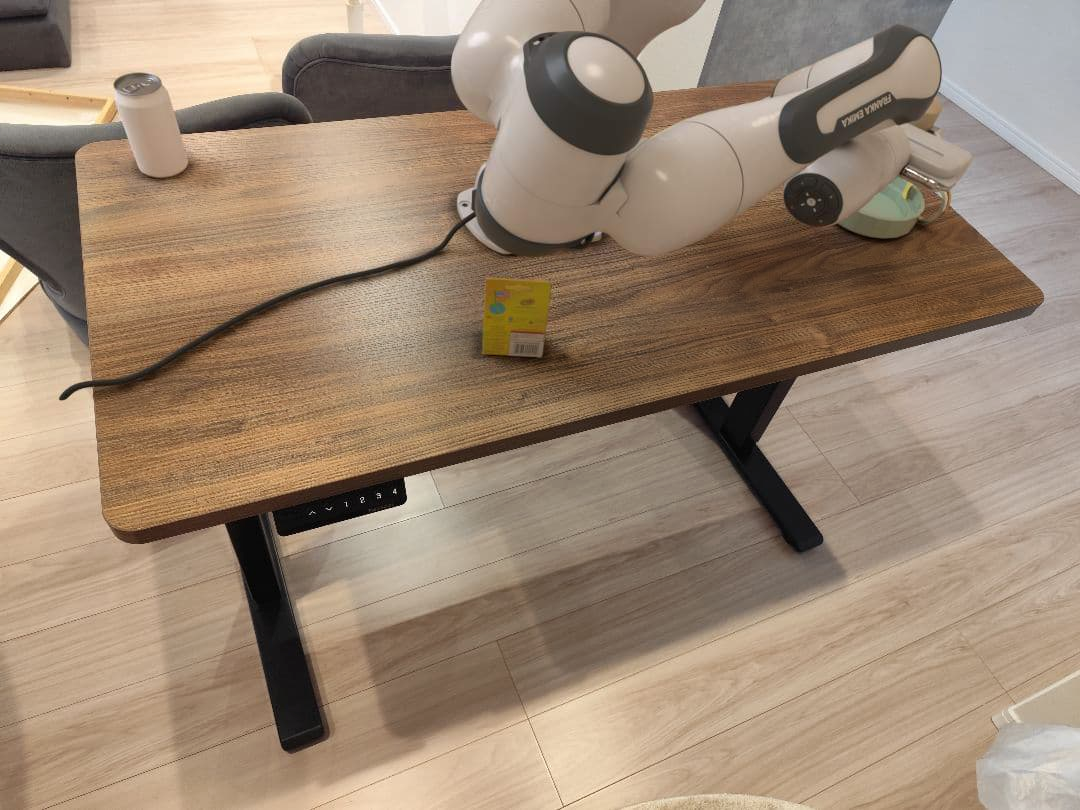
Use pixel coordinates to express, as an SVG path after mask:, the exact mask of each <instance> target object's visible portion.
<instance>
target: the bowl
mask: <svg viewBox="0 0 1080 810" xmlns="http://www.w3.org/2000/svg"><path fill="white" fill-rule="evenodd" d="M908 183H909V182H908V181H906V180H904V179H902V178H900V177H897V178H896V179H895V180H894V181H893V182H891V183H890V184H889V185H888V186H887V187H886V188H885V189H883V190H882V191H881V192H879V193H878V194H876V195H875V196H874V197H873V198H872V200H871V201H870V202H869V203H867V204H866V205H865V206H864V207H863V208H861V209H860V210H859V211H857V212H856V213H855V214H853V215H852V216H850V217H849V218H847V219H845V220H844V221H842V222H840V223H837V225H839V226H841V227H842V228H844V229H846V230H847V231H850V232H852V233H854V234H857V235H861V236H864V237H868V238H876V239H894V238H895V239H896V238H899V237H902V236H905V235H907V234H909V233H910V232H911V231H912V229H913V228H914V227H915V225H916V224H917V223H918V222H917V221H918V219H919V218H920V216H921V217H922V214H923V213H924V212H925V207H926V200H925V198H924V196H923V193H922V191H920V190H919V189H918V186H916V185H914V187H913V188H912V190H911V192H910V198H909V199H907V200H906V199H904V200H903V192H904V189H905V187H906V185H907V184H908Z"/></svg>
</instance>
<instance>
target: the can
mask: <svg viewBox="0 0 1080 810" xmlns="http://www.w3.org/2000/svg"><path fill="white" fill-rule="evenodd" d="M112 86H113V89H114V93H113V99H114V103H115V105H116V108H117V112H118V114H119V117H120V120H121V122H122V126H123V128H124V131H125V135H126V137H127V140H128V142H129V146H130V148H131V151H132V155H133V156H134V160H135V162H136V165H137V167H138V169H139V171H140V172H141V173H143V174H144V175H146V176H148V177H150V178H155V179H166V178H173V177H176V176H178V175H180V174H182V173H183V172H184V171H186V168H187V167H188V165H189V159H188V155H187V152H186V149H185V148H186V147H185V145H184V140H183V138H182V134H181V130H180V128H179V124H178V120H177V118H176V113H175V110H174V106H173V103H172V100H171V97H170V94H169V92H168V89H167V88H166V87H165V86H164V85H163V82H162V79H161V78H160V76H157V75H156V74H153V73H149V72H143V71H142V72H141V71H139V72H137V71H136V72H129V73H126V74H122V75H120V76H119V77H117V78H116V79H115V80H114V82H113V84H112Z"/></svg>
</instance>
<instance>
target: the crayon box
mask: <svg viewBox="0 0 1080 810" xmlns="http://www.w3.org/2000/svg"><path fill="white" fill-rule="evenodd" d="M484 282H485V283H484V299H483V320H482V334H481V354H482V356H488V355H493V356H509V357H510V356H511V357H527V358H528V357H529V358H530V357H531V358H537V359H541V358H543V356H544V347H545V339H546V333H547V332H546V331H547V326H548V325H547V324H548V319H549V318H548V317H549V312H550V305H551V299H552V298H551V297H552V296H551V295H552V294H551V293H552V287H553V283H552V282H551V280H543V279H526V278H525V279H524V278H509V277H508V278H507V277H490V276H486V277H485V281H484Z"/></svg>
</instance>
